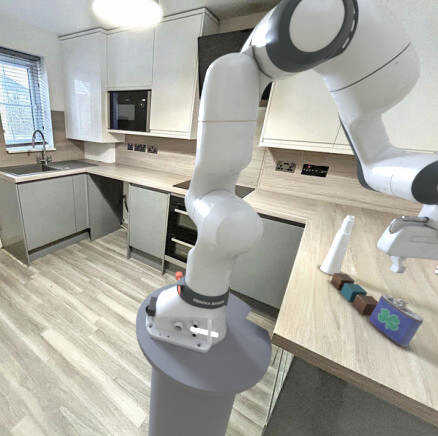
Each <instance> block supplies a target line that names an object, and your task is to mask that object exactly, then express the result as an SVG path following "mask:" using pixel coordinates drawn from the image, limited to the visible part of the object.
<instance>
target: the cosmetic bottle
mask: <svg viewBox="0 0 438 436" xmlns="http://www.w3.org/2000/svg"><path fill="white" fill-rule="evenodd" d="M355 219H356V217H355V216H354V215H346V217H345V218H344V219H343V222H342V224H341V226H340V227H341V228H340V229H338V231H337V233H336V235H335V238H334V240H333V242H332V244H331V246H330V248H329V251H328V254H327V255H326V257H325V259H324V261H323V263H322V264H321V266H320V270H321V271H322V272H323V273H325V274H327V275H330V276H333V275H334V273H342V271H341V270H342V265H343V261H344V259H345V255H346V252H347V249H348V246H349V244H350V240H351V236H352V233H351V232H352V230H353V227H354V224H355V222H356V220H355Z"/></svg>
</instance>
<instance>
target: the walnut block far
mask: <svg viewBox="0 0 438 436" xmlns="http://www.w3.org/2000/svg"><path fill="white" fill-rule="evenodd" d="M355 282H356V281H355V280H354V278H352V277H351V276H350V275H349V274H347V273H343V272H340V273H334V275H332V278H331V280H330V283H331V285H332V286H333V287H334V288H335V289H336V290H337V291H341V290H342V288H343V286H344V283H350V284H355Z"/></svg>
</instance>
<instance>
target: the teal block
mask: <svg viewBox="0 0 438 436" xmlns="http://www.w3.org/2000/svg"><path fill="white" fill-rule="evenodd" d="M340 294H341V295H342V296H343V298H344V299H345V300H347V302H350V303H353V302H354V300H355V298H356V296H357V295H367V294H368V291H367V290H365V289H364V288H363V287H362V286H361V285H360V284H359V283H354V284H350V283H344V286H343V288H342V290H340Z"/></svg>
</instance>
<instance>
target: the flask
mask: <svg viewBox="0 0 438 436" xmlns="http://www.w3.org/2000/svg"><path fill="white" fill-rule="evenodd" d="M409 304H410V303H409V302H408V301H407V300H404V299H401V298H397V299H396V298H395V297H394V296H391V295H389V294H381V295H380V298H379V300H378V303H377V305H376V307H375V309H374V311H373V312H372V314H371V316H369V318H368V323H370V325H371V326H372V327H374V329H375V330H377V331H378V332H379V333H381V334H382V336H384V337H385V338H387V339H388V340H389V341H391V342H392V343H393V344H395V345H396V346H398V347H400V348H402V349H405V348H408V347H409V345H410V343H411V341H412V339H413V338H414V336H415V335H416V333H417V331H418V329H419V328H420V327H421V325H422V324H423V323H424V318H423V317H422V316H420V315H419V314H417V313H415V312H413V311H412V310H411V309H409V308H407V307H406V306H407V305H409Z"/></svg>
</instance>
